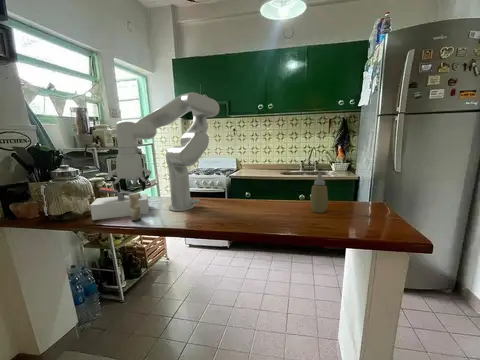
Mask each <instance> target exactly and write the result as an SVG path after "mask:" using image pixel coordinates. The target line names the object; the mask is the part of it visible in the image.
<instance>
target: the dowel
mask: <svg viewBox="0 0 480 360" xmlns="http://www.w3.org/2000/svg"><path fill="white" fill-rule="evenodd" d="M138 193H139V192H135V193H132V194H129V204H130V213H131V216H130V219H131V223H132V222H133V223H138V222H140V221H142V214H140V204H139V195H138Z"/></svg>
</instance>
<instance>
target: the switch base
mask: <svg viewBox="0 0 480 360" xmlns="http://www.w3.org/2000/svg"><path fill="white" fill-rule="evenodd" d="M120 190H121V191H125V190H124V189H120ZM116 195H117V196H109V197H100V198H99V197H97V198H95V200H94V201H93V202H92V203H91V204H90V205H89V207H90V214H91V219H92V221H97V220H106V219H107V220H108V219H115V218H121V217H131V213H130V204H129V196H126V195H122V193H117V194H116ZM139 204H140V214H141V215H146V214H149V210H150V209H149V207H150V205H149V195H148V193H140V197H139Z"/></svg>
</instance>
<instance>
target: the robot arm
mask: <svg viewBox="0 0 480 360" xmlns="http://www.w3.org/2000/svg"><path fill="white" fill-rule="evenodd" d="M189 112H192V113H191V114H192V119H193V122H192V124H190V126H189V127H188V128H187V130H186V131H185V132H184V133H183V134H182V135H181V138H180V141H179V142H180V143H179V144H180V145H179V146H178V145H175V146H171V147H170V148H168V149H167V151H166V153H165V160H166V165H167V168H168V176H169V179H168V180H169V188H170V189H169V190H170V191H169V192H170V202H171V205H169V206H168V210H169V211H171V212H184V211H185V212H186V211H189V210H192V209H193V208H194V207H195V204H200V203H201V200H200V199H196V198H194V199H192V198H191V191H190V190H191V189H190V178H189V176H190V174H189V170H188V168H187V167H192V166H194V165H195V164H196V163H197V162H198V161H199V159H200V158H201V157H202V155H203V154H204V153H205V151H206V150H207V148H208V146H209V143H210V139H209V138H210V137H209V135H208V134H207V131H208V129H209V128H208V127H209V125H208V121H207V118H213V117H215V116H217V115H218V114H219V112H220V105H219V103H218V101H216V100H215V99H213V98H210V97H209V96H205V95H204V94H200V93H199V92H198V93H197V92H192V91H191V92H188V93H183V94H180V95H178V96H176V97H175V98H173V99H172V100H170V101H169V102H167V103H166V104H164V105H162V106H161V107H159V108H157V109H155V110H154V111H152V112H151V113H148V114H146V115H145V116H142V117H141V118H140V119H138V120H137V121H135V122H133V121H117V122H116V124H115V127H116V140H117V147H118V148H117V149H118V150H117V151H118V154H117V155H116V163H115V166H116V168H115V169H113V170H111V171H109V172H107V173H106V174H107V176H108V177H109V180H110V181H112V182H113V183H114V184H115V190H116V191H118V193H119V192H120V191H121V190H122V189H121V183H120V180H121V179H123V180H124V179H138V178H139V179H140V180H141V190H142V191H143V192H144V191H145V189H147V185H146V181H147V180H148V179H149V178H150V177H151V174H152V171H151V170H149V169H147V168H145V167H143V161H142V157H141V154H139V153H140V152H142V148H139V147H138V140H141V141H142V140H143V141H144V140H151V139H153V138H155V136H156V135H157V131H158V129H159V128H161V127H165V126H168V125H171V124H173V123H175V122H176V121H177V120H178V119H180V118H182V117H183V116H185V115H186V114H187V113H189ZM144 172H145V173H146V175H145V176H144ZM115 173H116V177H117V178H115V177H114V176H113V175H114V174H115Z"/></svg>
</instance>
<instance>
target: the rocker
mask: <svg viewBox="0 0 480 360" xmlns="http://www.w3.org/2000/svg"><path fill="white" fill-rule="evenodd" d="M98 193H106V194H112V195H117V193H118V191H116V189H114V188H108V187H100V188H99V189H98ZM119 193H122V195H124V196H129V194H132V193H136V192H133V191H127V190H124V191H120V192H119ZM137 193H138V195H139V197H140V194H141V193H140V192H137Z"/></svg>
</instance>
